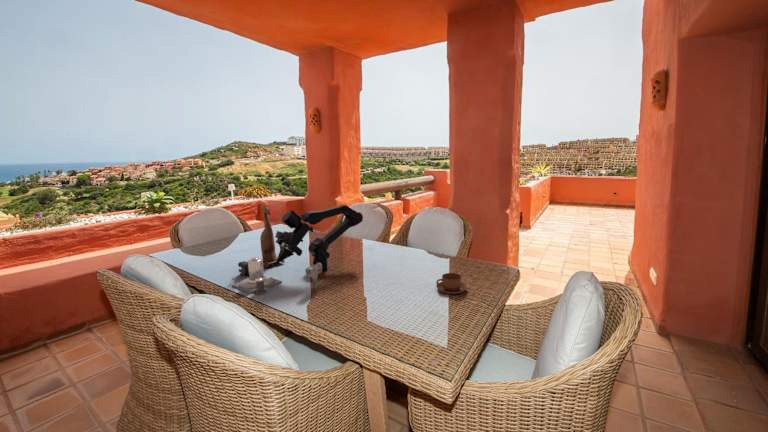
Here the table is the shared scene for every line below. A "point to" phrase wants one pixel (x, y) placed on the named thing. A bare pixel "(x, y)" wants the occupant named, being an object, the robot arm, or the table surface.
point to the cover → (255, 270)
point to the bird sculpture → (267, 240)
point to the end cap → (245, 268)
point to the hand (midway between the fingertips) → (277, 262)
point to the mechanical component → (314, 273)
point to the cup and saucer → (451, 284)
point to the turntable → (251, 287)
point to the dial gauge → (260, 286)
